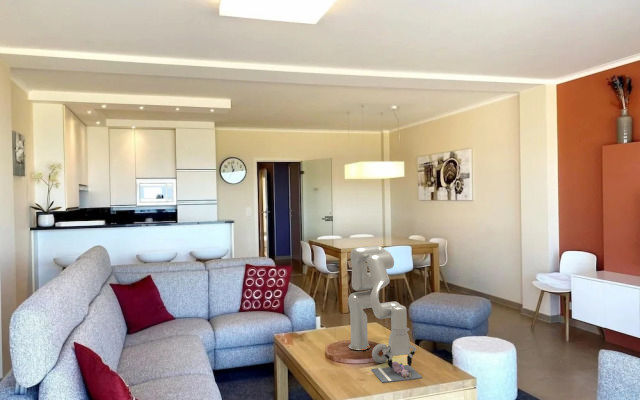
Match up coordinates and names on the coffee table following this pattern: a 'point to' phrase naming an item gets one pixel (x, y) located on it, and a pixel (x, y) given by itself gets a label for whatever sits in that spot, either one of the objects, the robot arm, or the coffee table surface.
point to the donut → (376, 350)
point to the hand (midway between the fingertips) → (399, 366)
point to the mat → (394, 374)
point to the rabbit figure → (400, 369)
